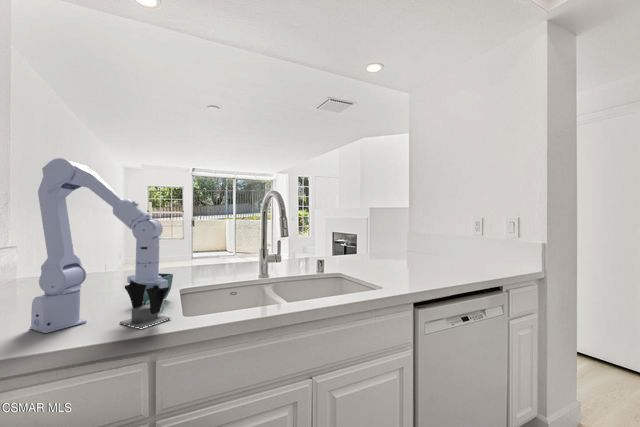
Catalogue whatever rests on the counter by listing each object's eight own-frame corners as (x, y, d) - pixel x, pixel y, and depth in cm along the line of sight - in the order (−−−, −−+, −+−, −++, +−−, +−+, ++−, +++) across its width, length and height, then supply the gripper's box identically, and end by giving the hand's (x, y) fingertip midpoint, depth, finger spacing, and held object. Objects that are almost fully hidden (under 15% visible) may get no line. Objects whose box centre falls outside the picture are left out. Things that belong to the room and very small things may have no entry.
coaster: (140, 329, 80) (141, 327, 80) (119, 324, 84) (119, 321, 84) (171, 319, 88) (171, 317, 88) (150, 315, 92) (150, 313, 92)
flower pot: (160, 305, 103) (160, 278, 103) (134, 304, 103) (134, 277, 103) (173, 298, 111) (173, 273, 112) (149, 297, 112) (149, 273, 112)
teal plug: (155, 314, 93) (155, 302, 93) (143, 314, 92) (143, 302, 93) (166, 307, 101) (166, 296, 101) (155, 307, 100) (156, 296, 100)
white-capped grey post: (136, 324, 82) (136, 311, 82) (128, 322, 84) (128, 309, 84) (163, 316, 89) (163, 304, 89) (155, 314, 91) (155, 302, 91)
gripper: (177, 262, 87) (176, 311, 87) (144, 258, 93) (143, 304, 93) (154, 265, 81) (153, 318, 80) (120, 261, 87) (119, 310, 87)
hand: (146, 311), depth 86 cm, fingers open, 7 cm apart
